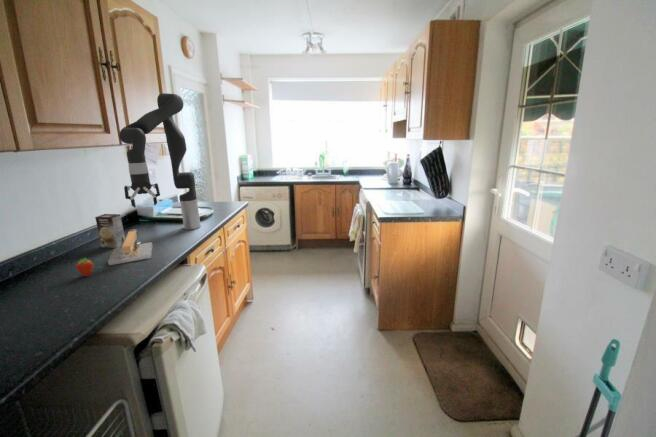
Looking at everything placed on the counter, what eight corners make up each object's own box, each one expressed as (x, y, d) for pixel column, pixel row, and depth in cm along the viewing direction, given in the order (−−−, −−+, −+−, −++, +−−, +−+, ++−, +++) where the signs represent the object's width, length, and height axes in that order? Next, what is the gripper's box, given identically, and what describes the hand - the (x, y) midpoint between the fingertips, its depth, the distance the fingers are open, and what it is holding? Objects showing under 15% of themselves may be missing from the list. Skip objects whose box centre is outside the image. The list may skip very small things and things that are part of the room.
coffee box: (101, 247, 156) (93, 217, 152) (110, 243, 162) (104, 213, 158) (117, 247, 155) (111, 217, 151) (127, 243, 161) (120, 213, 157)
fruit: (76, 279, 122) (71, 260, 120) (83, 273, 127) (79, 255, 125) (91, 277, 123) (87, 259, 121) (98, 272, 128) (93, 254, 126)
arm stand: (130, 244, 160) (128, 236, 159) (141, 242, 162) (140, 234, 161) (129, 247, 155) (127, 239, 154) (140, 245, 158) (139, 237, 156)
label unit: (115, 251, 150) (114, 247, 149) (152, 245, 157) (151, 241, 156) (108, 265, 135) (107, 260, 134) (150, 258, 141) (149, 253, 141)
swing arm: (130, 235, 158) (129, 229, 157) (138, 234, 160) (137, 228, 159) (122, 253, 134) (121, 247, 133) (132, 252, 135) (130, 245, 135)
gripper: (156, 170, 150) (161, 202, 155) (121, 172, 144) (128, 206, 148) (156, 172, 144) (161, 205, 148) (120, 174, 137) (127, 209, 142)
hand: (145, 206), depth 148 cm, fingers open, 8 cm apart
